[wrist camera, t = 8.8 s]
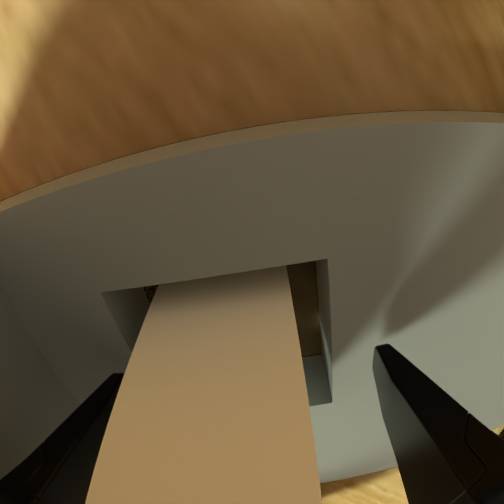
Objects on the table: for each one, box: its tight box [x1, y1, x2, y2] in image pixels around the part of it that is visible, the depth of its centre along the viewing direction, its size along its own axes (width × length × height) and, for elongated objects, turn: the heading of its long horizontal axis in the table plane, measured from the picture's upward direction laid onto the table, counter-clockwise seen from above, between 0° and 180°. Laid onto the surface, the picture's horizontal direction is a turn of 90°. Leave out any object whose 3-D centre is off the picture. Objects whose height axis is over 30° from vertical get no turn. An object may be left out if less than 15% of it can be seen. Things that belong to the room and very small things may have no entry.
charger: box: [85, 265, 322, 504], centre depth 8 cm, size 4×4×8 cm
